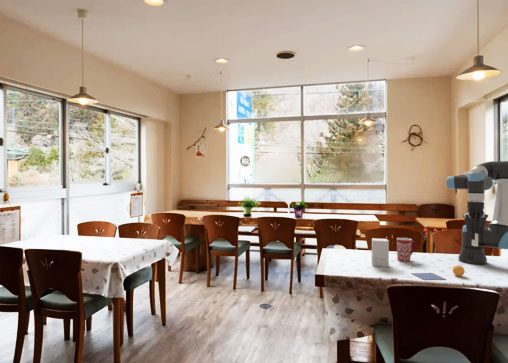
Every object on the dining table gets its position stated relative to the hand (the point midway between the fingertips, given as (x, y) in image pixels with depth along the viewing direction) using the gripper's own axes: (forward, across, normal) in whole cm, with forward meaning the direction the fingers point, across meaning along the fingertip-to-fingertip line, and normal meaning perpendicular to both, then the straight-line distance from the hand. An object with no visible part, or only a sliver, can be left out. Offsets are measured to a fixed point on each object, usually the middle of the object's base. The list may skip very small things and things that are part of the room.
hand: (474, 245), depth 191 cm
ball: (+13, +9, 0) cm, 16 cm away
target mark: (+16, +26, 0) cm, 30 cm away
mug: (+16, +18, -36) cm, 43 cm away
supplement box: (+16, +40, -26) cm, 50 cm away
